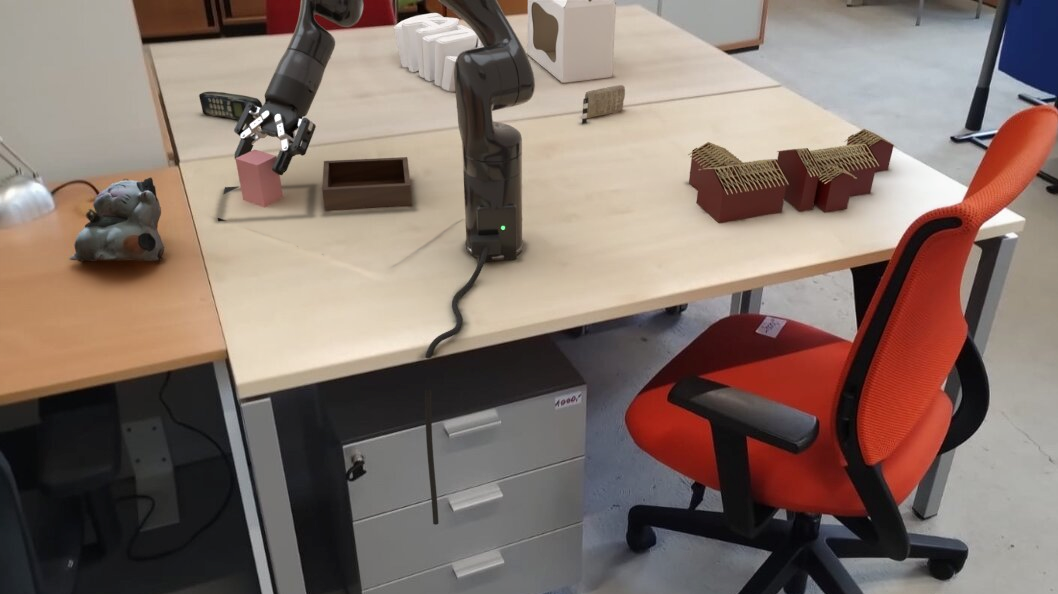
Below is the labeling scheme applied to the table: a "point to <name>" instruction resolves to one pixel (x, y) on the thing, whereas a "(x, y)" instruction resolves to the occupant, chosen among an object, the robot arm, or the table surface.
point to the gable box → (572, 37)
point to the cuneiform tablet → (603, 101)
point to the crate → (366, 184)
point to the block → (258, 178)
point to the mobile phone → (225, 104)
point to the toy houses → (787, 177)
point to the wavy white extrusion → (434, 46)
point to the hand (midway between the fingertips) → (258, 167)
